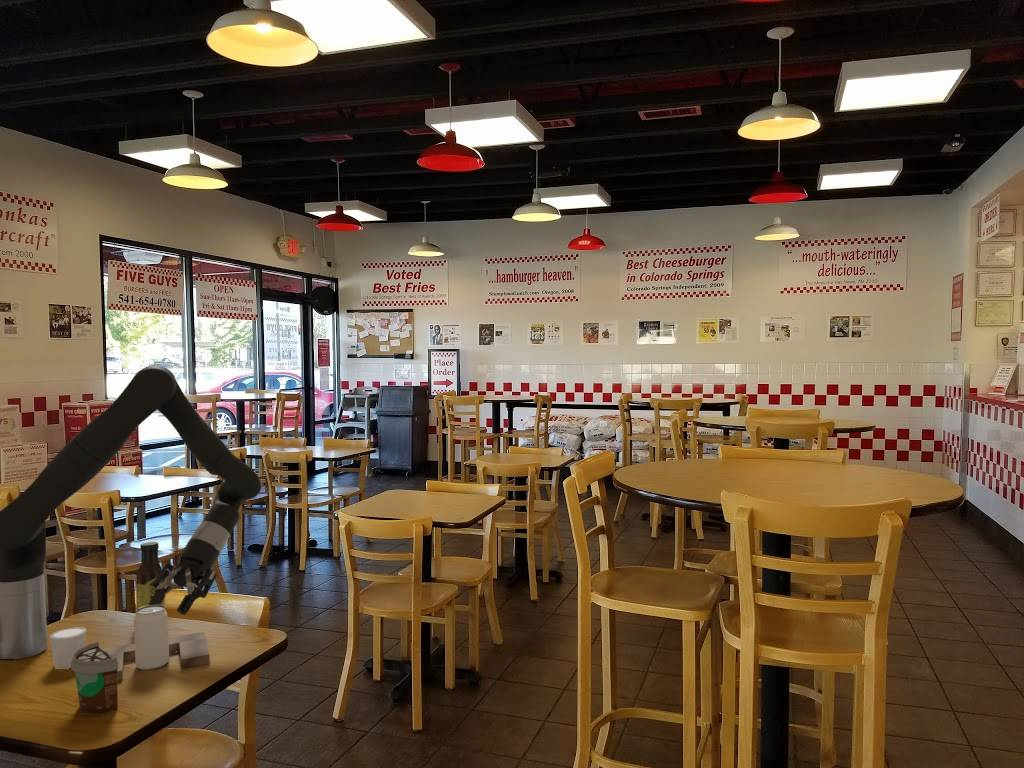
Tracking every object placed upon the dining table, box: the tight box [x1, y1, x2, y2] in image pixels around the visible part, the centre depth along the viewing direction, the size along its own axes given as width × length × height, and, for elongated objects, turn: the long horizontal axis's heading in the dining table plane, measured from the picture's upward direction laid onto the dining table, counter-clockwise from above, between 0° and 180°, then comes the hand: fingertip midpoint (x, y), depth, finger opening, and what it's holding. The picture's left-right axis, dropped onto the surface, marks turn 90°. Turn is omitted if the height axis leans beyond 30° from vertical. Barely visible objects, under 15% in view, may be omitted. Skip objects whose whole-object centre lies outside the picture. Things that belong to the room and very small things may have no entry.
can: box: [133, 605, 170, 671], centre depth 159 cm, size 6×6×12 cm
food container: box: [70, 641, 119, 714], centre depth 140 cm, size 12×6×10 cm, turn 45°
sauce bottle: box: [135, 541, 166, 610], centre depth 184 cm, size 7×6×20 cm
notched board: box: [100, 631, 211, 682], centre depth 161 cm, size 22×15×2 cm
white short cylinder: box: [49, 626, 87, 670], centre depth 160 cm, size 7×7×7 cm
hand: (166, 610), depth 162 cm, fingers open, 8 cm apart
